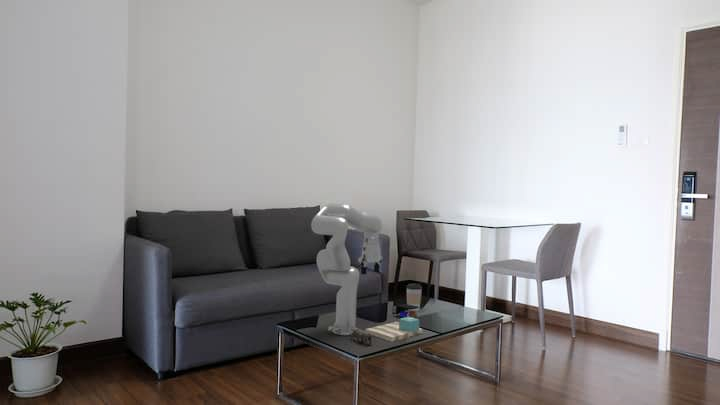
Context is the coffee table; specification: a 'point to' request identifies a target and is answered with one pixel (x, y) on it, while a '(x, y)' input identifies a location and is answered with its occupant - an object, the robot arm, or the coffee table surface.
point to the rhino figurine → (361, 336)
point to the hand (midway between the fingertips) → (370, 273)
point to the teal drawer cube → (409, 324)
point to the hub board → (391, 332)
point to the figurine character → (401, 310)
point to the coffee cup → (414, 295)
